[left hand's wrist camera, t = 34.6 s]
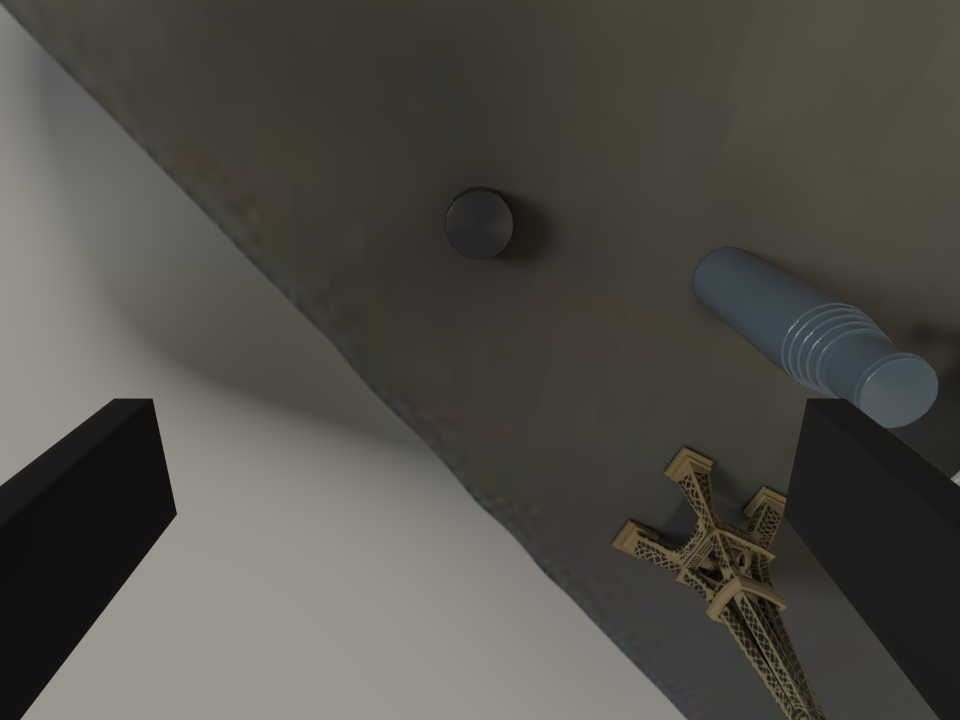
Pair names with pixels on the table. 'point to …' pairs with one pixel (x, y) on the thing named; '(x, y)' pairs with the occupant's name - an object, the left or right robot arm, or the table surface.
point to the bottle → (816, 337)
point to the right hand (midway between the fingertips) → (946, 426)
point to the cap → (479, 223)
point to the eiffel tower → (733, 579)
